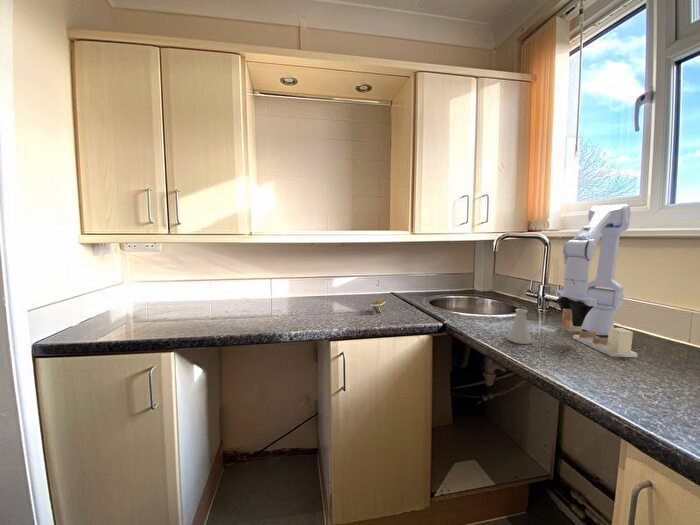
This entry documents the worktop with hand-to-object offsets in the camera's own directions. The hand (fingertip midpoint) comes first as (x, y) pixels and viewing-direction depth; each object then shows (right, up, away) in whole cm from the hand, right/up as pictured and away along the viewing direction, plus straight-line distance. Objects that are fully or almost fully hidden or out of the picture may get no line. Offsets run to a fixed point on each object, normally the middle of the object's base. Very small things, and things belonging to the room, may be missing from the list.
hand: (572, 324), depth 93 cm
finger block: (0, -2, 0) cm, 2 cm away
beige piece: (+9, -7, -1) cm, 11 cm away
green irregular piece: (-56, -3, +35) cm, 66 cm away
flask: (-14, -6, +4) cm, 16 cm away
